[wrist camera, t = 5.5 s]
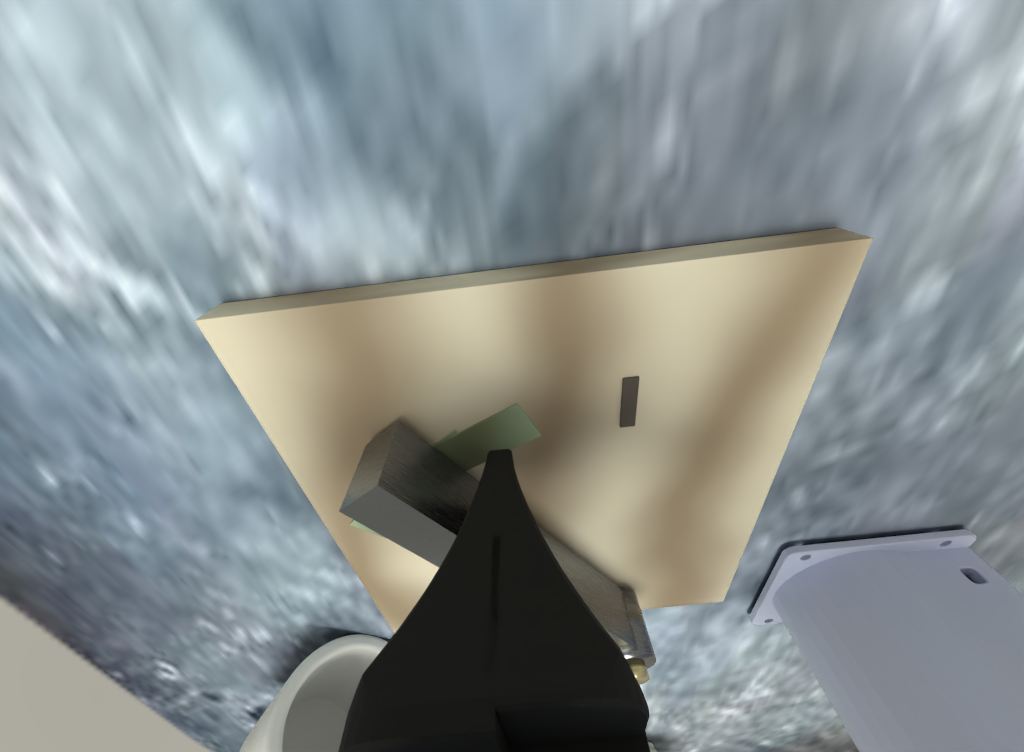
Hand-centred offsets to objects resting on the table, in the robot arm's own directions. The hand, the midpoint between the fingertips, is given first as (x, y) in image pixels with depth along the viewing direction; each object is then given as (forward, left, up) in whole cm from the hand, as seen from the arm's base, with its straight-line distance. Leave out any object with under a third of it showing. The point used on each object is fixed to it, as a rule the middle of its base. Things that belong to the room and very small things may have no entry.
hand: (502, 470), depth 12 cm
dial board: (-1, +3, -2) cm, 4 cm away
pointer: (-1, +5, -1) cm, 5 cm away
